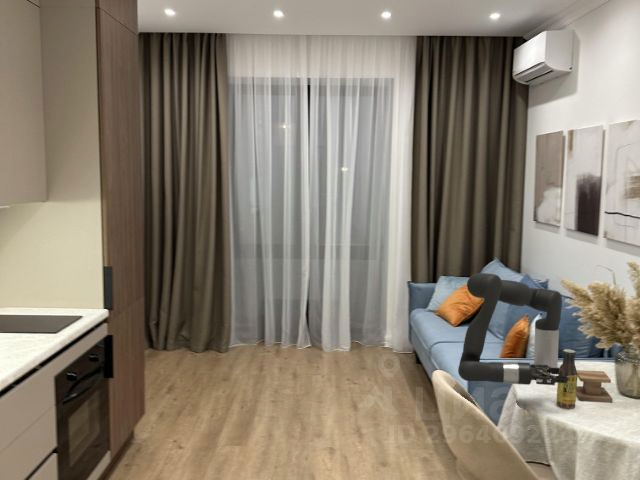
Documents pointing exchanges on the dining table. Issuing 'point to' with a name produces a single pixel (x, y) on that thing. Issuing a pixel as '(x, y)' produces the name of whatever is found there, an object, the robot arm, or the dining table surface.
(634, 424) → the dining table surface
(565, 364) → the sauce bottle
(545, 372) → the robot arm
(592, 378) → the walnut pedestal
